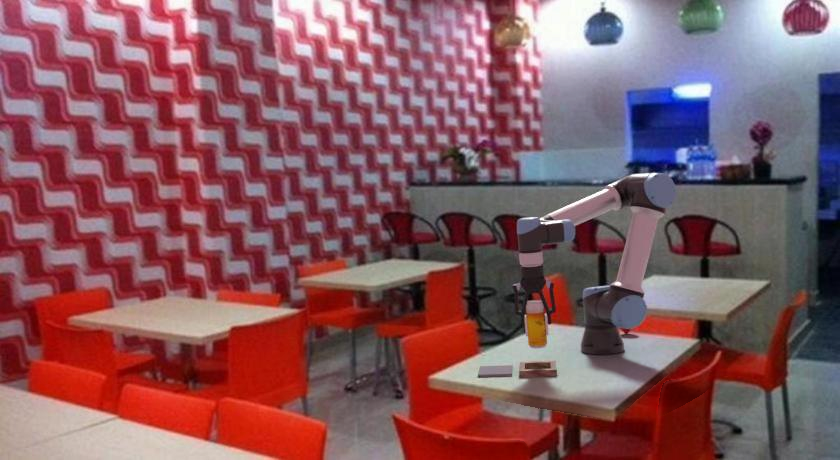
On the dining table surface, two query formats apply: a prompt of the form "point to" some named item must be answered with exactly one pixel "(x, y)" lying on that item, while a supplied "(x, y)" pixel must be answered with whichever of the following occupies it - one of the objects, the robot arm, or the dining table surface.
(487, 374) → the coaster
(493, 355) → the dining table surface
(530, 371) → the tray
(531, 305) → the glass of beer
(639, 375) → the dining table surface
